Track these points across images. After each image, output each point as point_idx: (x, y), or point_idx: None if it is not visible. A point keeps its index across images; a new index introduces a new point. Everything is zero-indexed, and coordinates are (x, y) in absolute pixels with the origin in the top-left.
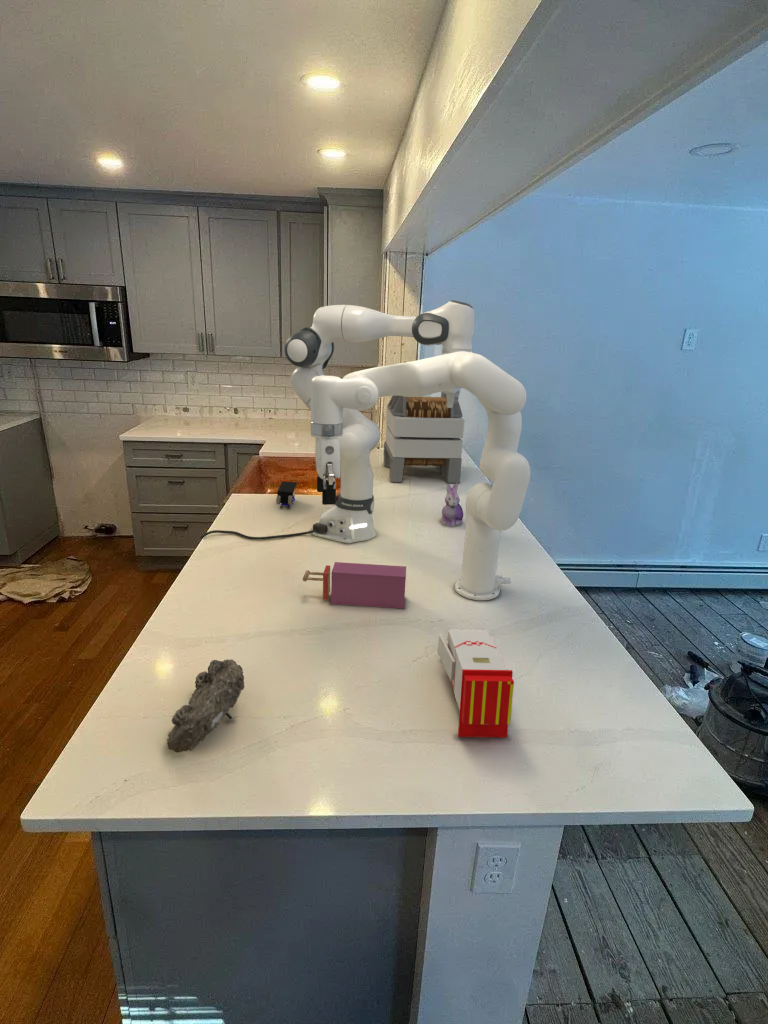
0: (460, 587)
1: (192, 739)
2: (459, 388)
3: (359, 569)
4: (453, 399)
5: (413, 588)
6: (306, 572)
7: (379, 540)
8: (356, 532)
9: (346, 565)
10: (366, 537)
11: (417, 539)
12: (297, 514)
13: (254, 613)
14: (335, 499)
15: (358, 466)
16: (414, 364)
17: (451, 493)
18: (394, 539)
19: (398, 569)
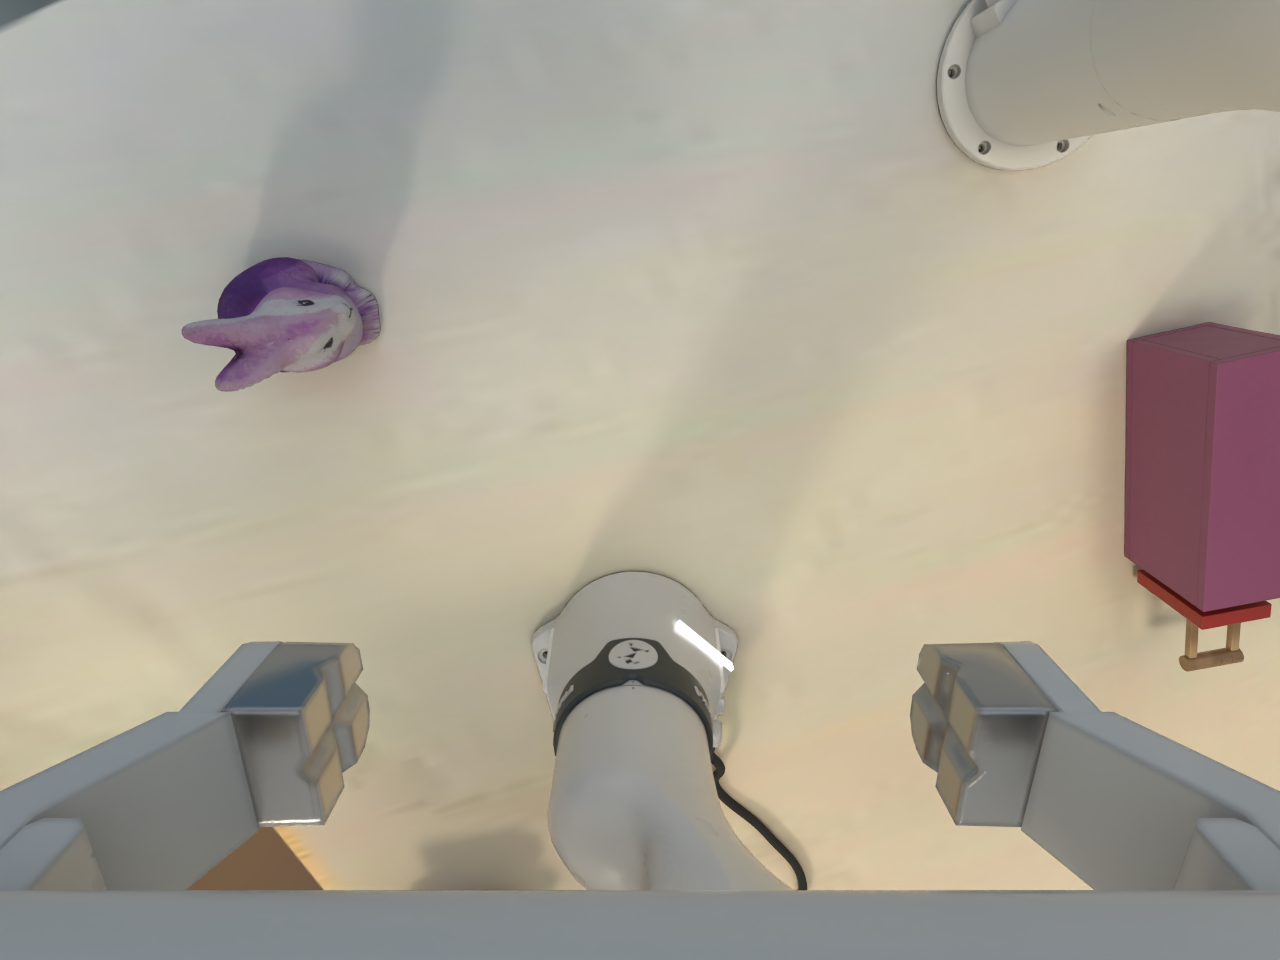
0: (1055, 142)
1: None
2: (742, 942)
3: (1262, 518)
4: (338, 764)
5: (1050, 325)
6: (1207, 665)
7: (661, 545)
8: (710, 636)
9: (1230, 568)
10: (683, 593)
11: (592, 413)
12: (537, 854)
13: (1268, 698)
14: None
15: (760, 862)
16: None
17: (293, 342)
18: (629, 497)
19: (1251, 385)
